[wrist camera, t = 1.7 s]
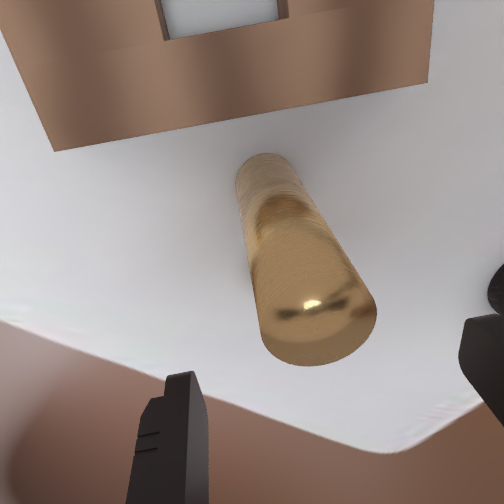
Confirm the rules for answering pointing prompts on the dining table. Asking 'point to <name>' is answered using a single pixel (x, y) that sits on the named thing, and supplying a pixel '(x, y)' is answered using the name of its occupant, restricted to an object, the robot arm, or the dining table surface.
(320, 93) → the hole board
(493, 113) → the dining table surface
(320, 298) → the tall pin
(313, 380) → the dining table surface
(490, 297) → the travel mug
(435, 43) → the dining table surface
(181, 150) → the dining table surface
